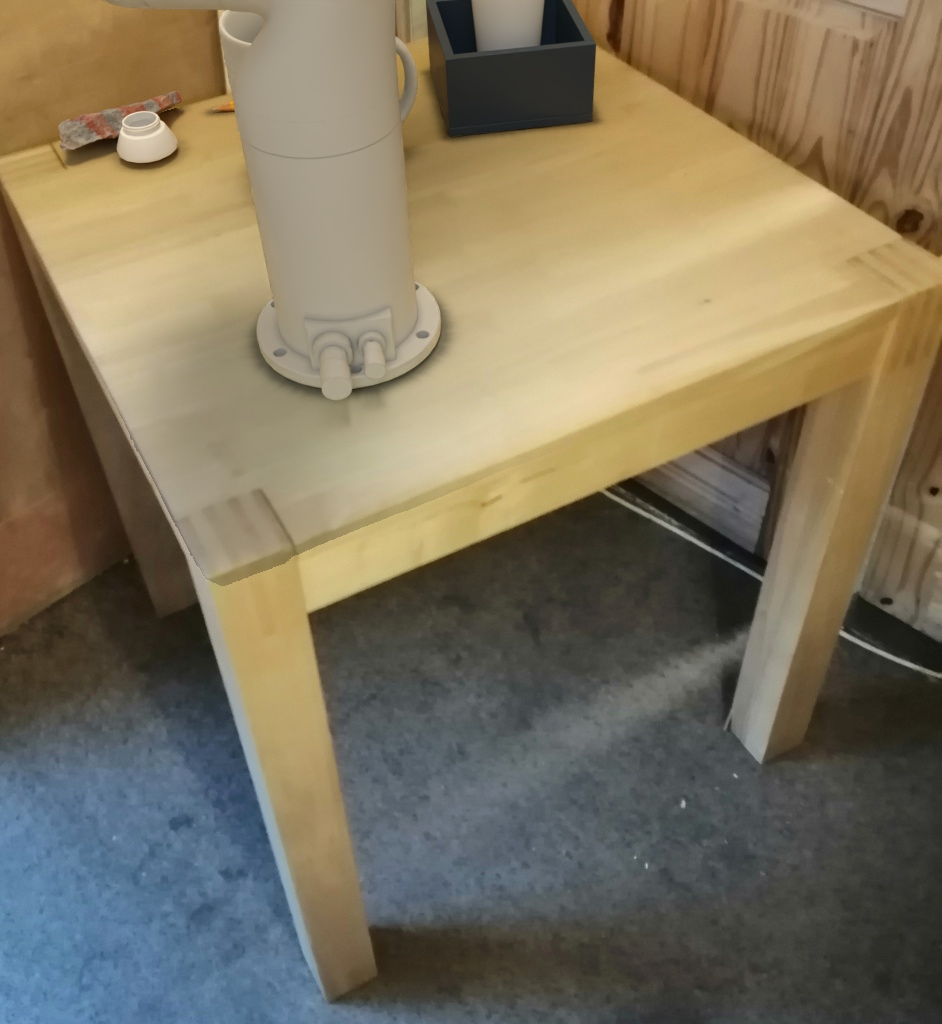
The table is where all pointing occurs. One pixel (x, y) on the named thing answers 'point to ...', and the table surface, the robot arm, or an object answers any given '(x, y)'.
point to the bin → (510, 72)
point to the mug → (246, 26)
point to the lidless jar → (145, 138)
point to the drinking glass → (507, 23)
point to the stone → (109, 121)
